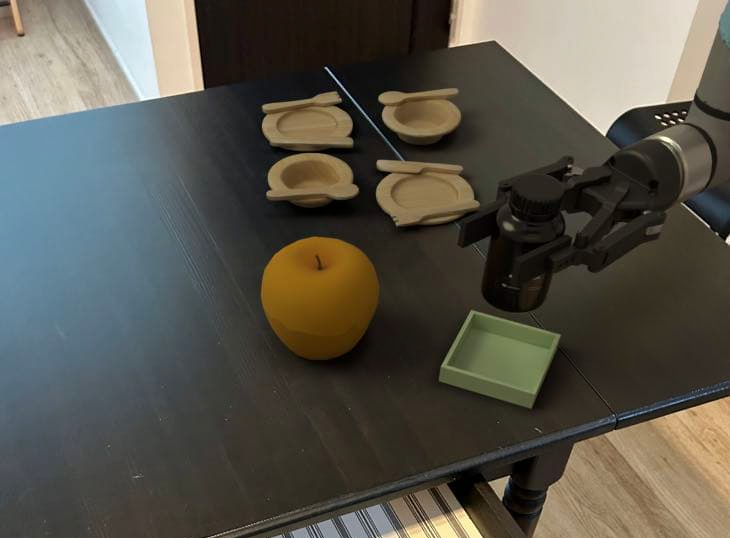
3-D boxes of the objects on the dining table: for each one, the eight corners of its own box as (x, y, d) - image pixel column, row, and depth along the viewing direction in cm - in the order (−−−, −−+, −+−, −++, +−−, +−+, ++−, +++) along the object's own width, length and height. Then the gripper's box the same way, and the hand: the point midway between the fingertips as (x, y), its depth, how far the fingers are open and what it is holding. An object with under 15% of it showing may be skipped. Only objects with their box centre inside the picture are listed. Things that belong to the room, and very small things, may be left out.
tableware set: (263, 106, 127) (261, 78, 124) (451, 103, 128) (454, 75, 125) (259, 239, 107) (257, 210, 103) (484, 235, 107) (489, 206, 104)
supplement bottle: (508, 325, 82) (533, 215, 72) (466, 289, 85) (484, 179, 76) (560, 301, 84) (591, 192, 75) (517, 267, 88) (541, 158, 78)
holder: (555, 351, 94) (561, 334, 92) (530, 411, 88) (535, 394, 86) (468, 327, 96) (471, 309, 94) (438, 383, 91) (440, 366, 89)
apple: (248, 322, 97) (240, 236, 88) (348, 294, 100) (350, 207, 91) (290, 392, 90) (286, 306, 81) (396, 359, 93) (404, 273, 84)
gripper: (716, 254, 84) (554, 341, 76) (574, 168, 93) (417, 238, 85) (746, 184, 78) (574, 271, 70) (592, 101, 87) (425, 169, 79)
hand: (488, 253), depth 77 cm, fingers closed on supplement bottle, 7 cm apart
